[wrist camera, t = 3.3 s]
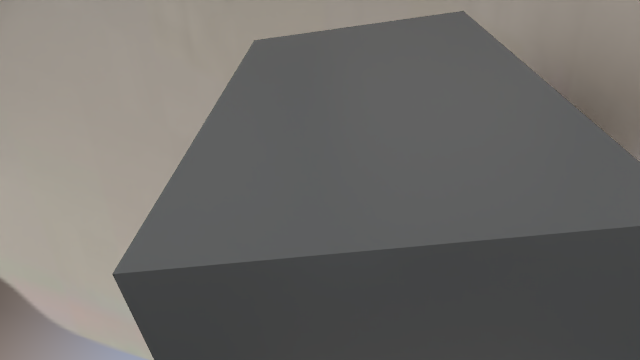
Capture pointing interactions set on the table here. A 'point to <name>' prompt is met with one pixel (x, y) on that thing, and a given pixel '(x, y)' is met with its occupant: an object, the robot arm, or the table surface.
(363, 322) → the pale grey rectangular block
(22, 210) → the table surface
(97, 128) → the table surface
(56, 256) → the table surface
